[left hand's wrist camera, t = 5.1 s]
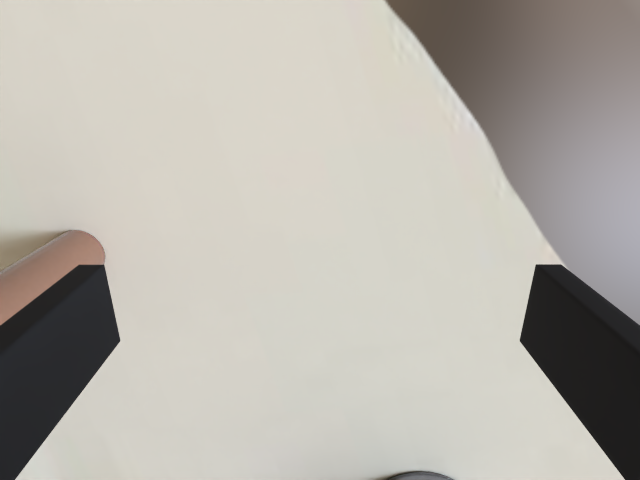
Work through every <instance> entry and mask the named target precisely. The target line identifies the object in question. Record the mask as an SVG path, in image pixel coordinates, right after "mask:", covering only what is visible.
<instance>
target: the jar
mask: <svg viewBox="0 0 640 480" xmlns="http://www.w3.org/2000/svg"><path fill="white" fill-rule="evenodd" d="M104 262H105V252H104V249H103V247H102V245H101V244H100V242H99V241H98V240H97V239H96V238H95V237H93V236H92V235H90V234H88V233H86V232H83V231H79V230H71V231H67V232H64V233H63V234H61V235H59V236H58V237H56V238H54V239H53V240H51V241H49V242H48V243H46V244H44V245H43V246H41V247H39V248H38V249H36V250H34V251H33V252H31V253H30V254H28V255H26V256H25V257H23V258H21V259H20V260H18V261H16V262H15V263H13V264H11V265H10V266H8V267H6V268H5V269H3V270H1V271H0V325H2V324H3V323H4V322H5V321H7V320H8V319H9V318H11V317H12V316H13V315H14V314H16V313H17V312H18V311H20V310H21V309H22V308H24V307H25V306H26V305H27V304H29V303H30V302H31V301H33V300H34V299H35V298H36V297H38V296H39V295H40V294H42V293H43V292H44V291H45V290H47V289H48V288H49V287H51V286H52V285H53V284H55V283H56V282H57V281H58V280H60V279H61V278H62V277H64V276H65V275H66V274H67V273H69V272H70V271H71V270H73V269H74V268H75V267H76V266H78V265H104Z"/></svg>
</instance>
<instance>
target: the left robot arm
mask: <svg viewBox="0 0 640 480" xmlns="http://www.w3.org/2000/svg"><path fill="white" fill-rule="evenodd" d="M119 342H120V337H119V332H118V328H117V323H116V318H115V314H114V309H113V304H112V299H111V295H110V290H109V285H108V281H107V276H106V271H105V267H104V265H78V266H76V267H75V268H74V269H73V270H71V271H70V272H69V273H67V274H66V275H65V276H64V277H62V278H61V279H60V280H58V281H57V282H56V283H55V284H53V285H52V286H51V287H49V288H48V289H47V290H45V291H44V292H43V293H42V294H40V295H39V296H38V297H36V298H35V299H34V300H33V301H31V302H30V303H29V304H27V305H26V306H25V307H24V308H22V309H21V310H20V311H18V312H17V313H16V314H14V315H13V316H12V317H11V318H9V319H8V320H7V321H5V322H4V323H3V324H2V325H0V480H15V479H16V477H17V476H18V475H19V474H20V472H21V471H22V470H23V468H24V467H25V466H26V464H27V463H28V462H29V460H30V459H31V458H32V456H33V455H34V454H35V452H36V451H37V450H38V448H39V447H40V446H41V445H42V443H43V442H44V441H45V439H46V438H47V437H48V435H49V434H50V433H51V431H52V430H53V429H54V427H55V426H56V425H57V423H58V422H59V421H60V420H61V418H62V417H63V416H64V414H65V413H66V412H67V410H68V409H69V408H70V406H71V405H72V404H73V402H74V401H75V400H76V398H77V397H78V396H79V395H80V393H81V392H82V391H83V389H84V388H85V387H86V385H87V384H88V383H89V381H90V380H91V379H92V377H93V376H94V375H95V373H96V372H97V371H98V370H99V368H100V367H101V366H102V364H103V363H104V362H105V360H106V359H107V358H108V356H109V355H110V354H111V352H112V351H113V350H114V348H115V347H116V346H117V344H118V343H119ZM520 342H521V343H522V344H523V346H524V347H525V348H526V350H527V351H528V352H529V354H530V355H531V356H532V358H533V359H534V360H535V362H536V363H537V364H538V366H539V367H540V368H541V370H542V371H543V372H544V373H545V375H546V376H547V377H548V379H549V380H550V381H551V383H552V384H553V385H554V387H555V388H556V389H557V391H558V392H559V393H560V395H561V396H562V397H563V398H564V400H565V401H566V402H567V404H568V405H569V406H570V408H571V409H572V410H573V412H574V413H575V414H576V416H577V417H578V418H579V420H580V421H581V422H582V423H583V425H584V426H585V427H586V429H587V430H588V431H589V433H590V434H591V435H592V437H593V438H594V439H595V441H596V442H597V443H598V445H599V446H600V447H601V448H602V450H603V451H604V452H605V454H606V455H607V456H608V458H609V459H610V460H611V462H612V463H613V464H614V466H615V467H616V468H617V470H618V471H619V472H620V474H621V475H622V476H623V477H624V479H625V480H640V325H638V324H637V323H636V322H635V321H633V320H632V319H631V318H629V317H628V316H627V315H626V314H624V313H623V312H622V311H620V310H619V309H618V308H616V307H615V306H614V305H613V304H611V303H610V302H609V301H607V300H606V299H605V298H604V297H602V296H601V295H600V294H598V293H597V292H596V291H595V290H593V289H592V288H591V287H589V286H588V285H587V284H585V283H584V282H583V281H582V280H580V279H579V278H578V277H576V276H575V275H574V274H573V273H571V272H570V271H569V270H567V269H566V268H565V267H564V266H562V265H536V267H535V271H534V276H533V281H532V285H531V290H530V295H529V299H528V304H527V309H526V314H525V318H524V323H523V328H522V332H521V337H520ZM388 480H453V479H451V478H449V477H447V476H444V475H440V474H436V473H429V472H415V473H407V474H402V475H399V476H396V477H393V478H390V479H388Z"/></svg>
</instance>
